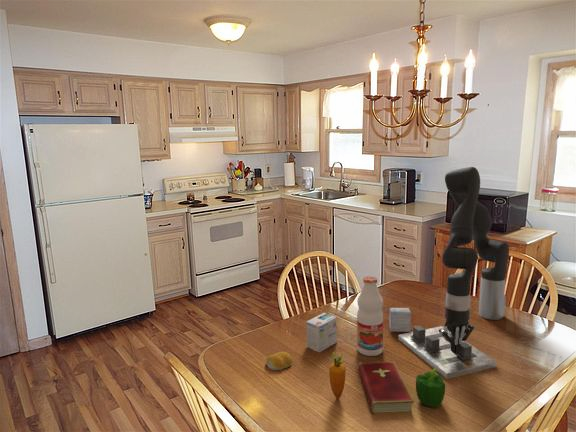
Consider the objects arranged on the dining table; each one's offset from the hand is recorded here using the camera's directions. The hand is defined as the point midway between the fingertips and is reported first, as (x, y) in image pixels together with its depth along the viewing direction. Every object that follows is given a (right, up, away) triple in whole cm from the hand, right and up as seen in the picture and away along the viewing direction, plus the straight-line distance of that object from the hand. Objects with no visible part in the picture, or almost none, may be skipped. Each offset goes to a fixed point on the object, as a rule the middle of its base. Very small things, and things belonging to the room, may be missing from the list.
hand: (455, 352), depth 140 cm
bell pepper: (-15, -9, -18) cm, 25 cm away
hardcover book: (-27, -8, -12) cm, 31 cm away
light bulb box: (-44, -3, +17) cm, 47 cm away
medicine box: (-12, 0, +27) cm, 29 cm away
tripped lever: (+4, -2, +1) cm, 4 cm away
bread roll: (-60, -6, +5) cm, 61 cm away
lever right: (-8, +1, +14) cm, 16 cm away
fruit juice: (-27, -3, +12) cm, 30 cm away
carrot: (-42, -9, -15) cm, 46 cm away
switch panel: (-1, -3, +9) cm, 9 cm away
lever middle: (-5, -1, +7) cm, 9 cm away
